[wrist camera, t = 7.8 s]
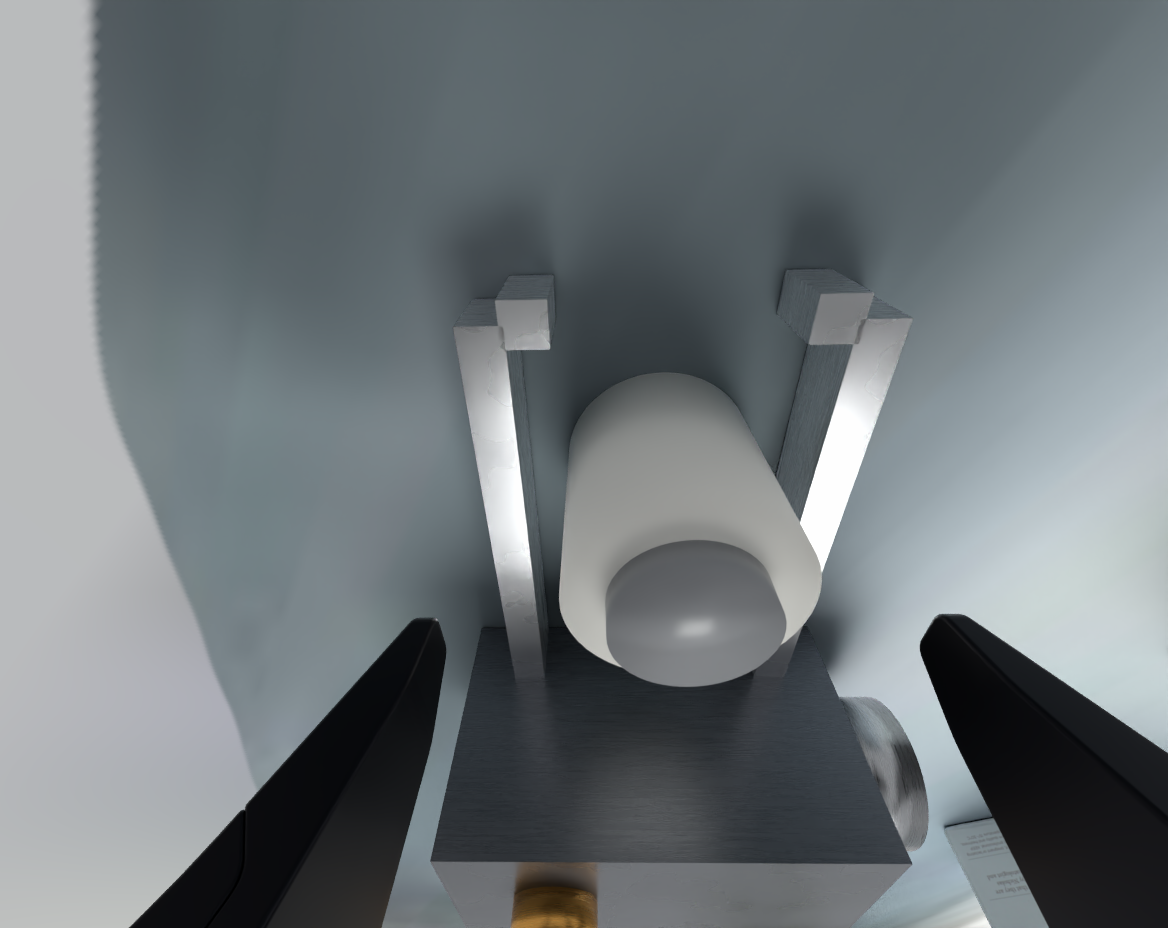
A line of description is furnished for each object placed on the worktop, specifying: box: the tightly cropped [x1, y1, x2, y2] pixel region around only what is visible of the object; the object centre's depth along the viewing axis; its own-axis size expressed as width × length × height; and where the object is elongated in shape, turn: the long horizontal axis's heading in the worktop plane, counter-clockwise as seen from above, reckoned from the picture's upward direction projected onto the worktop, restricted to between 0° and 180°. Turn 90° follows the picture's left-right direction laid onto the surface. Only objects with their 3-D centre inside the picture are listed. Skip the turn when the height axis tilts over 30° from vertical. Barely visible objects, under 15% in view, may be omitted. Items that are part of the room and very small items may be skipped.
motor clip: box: [430, 269, 928, 928], centre depth 13 cm, size 14×18×8 cm
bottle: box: [559, 372, 822, 687], centre depth 11 cm, size 5×5×6 cm
